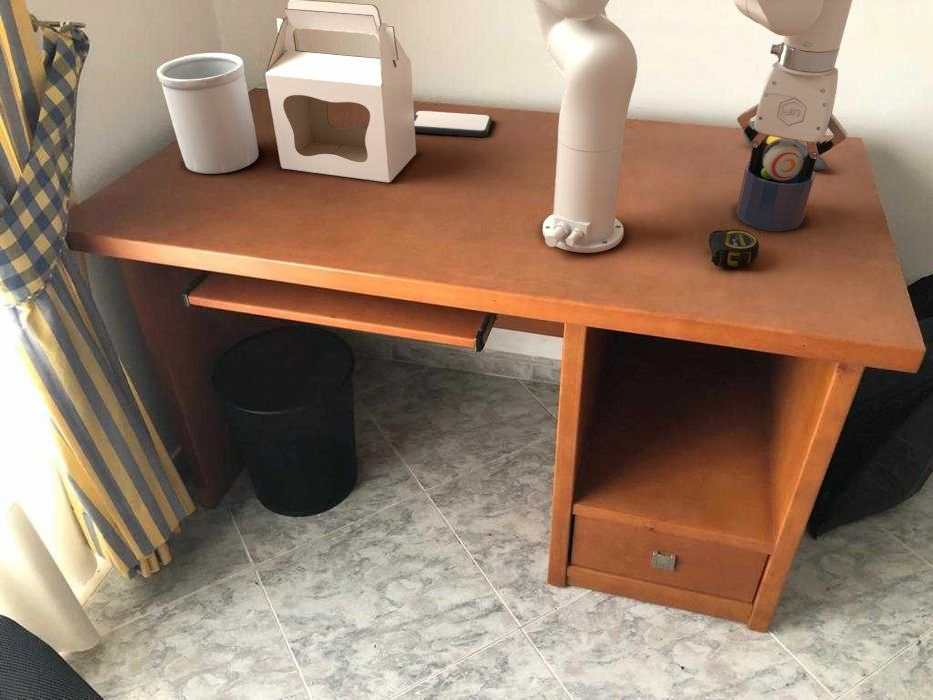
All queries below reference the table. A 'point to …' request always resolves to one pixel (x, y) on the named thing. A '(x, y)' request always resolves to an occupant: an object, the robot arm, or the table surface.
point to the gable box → (340, 95)
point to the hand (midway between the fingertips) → (779, 173)
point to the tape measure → (733, 247)
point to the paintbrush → (819, 163)
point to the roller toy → (782, 160)
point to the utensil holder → (210, 111)
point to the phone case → (452, 123)
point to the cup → (773, 201)
